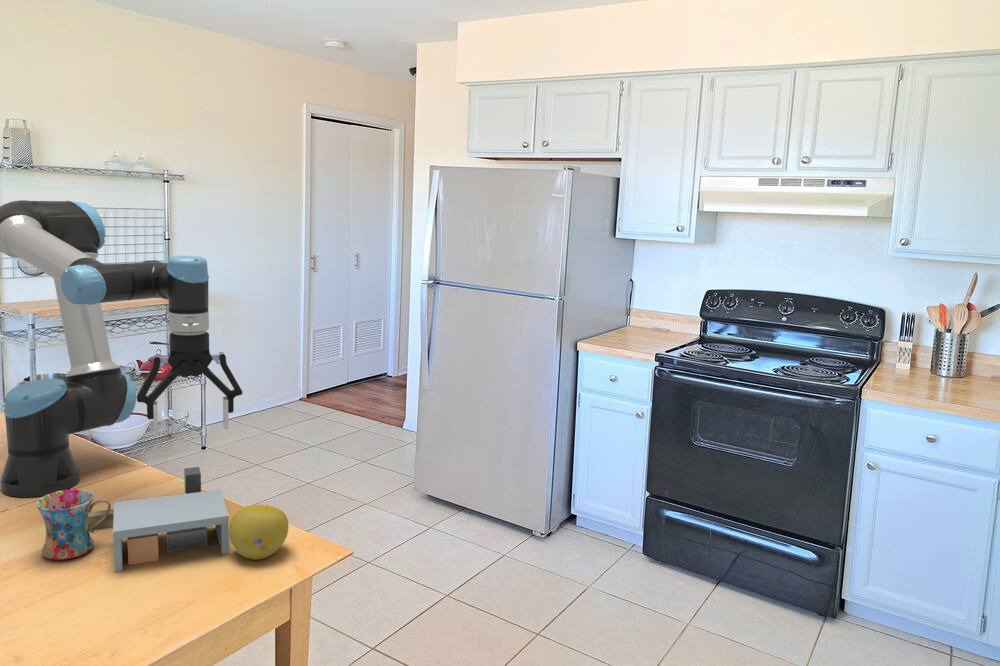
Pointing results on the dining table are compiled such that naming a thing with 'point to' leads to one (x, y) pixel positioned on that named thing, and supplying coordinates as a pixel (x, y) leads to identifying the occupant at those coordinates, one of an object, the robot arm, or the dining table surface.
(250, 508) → the fruit
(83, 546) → the mug
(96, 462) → the dining table surface
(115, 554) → the grey u-shaped bridge
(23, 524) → the dining table surface
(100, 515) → the l-shaped tan bracket
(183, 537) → the grey piece
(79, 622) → the dining table surface
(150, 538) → the block
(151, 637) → the dining table surface
